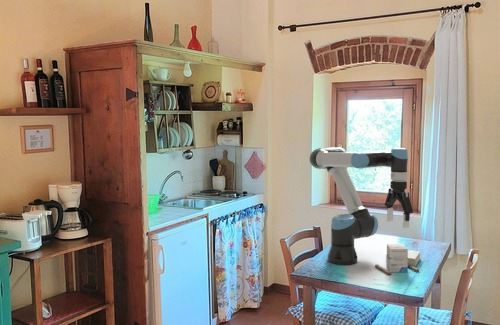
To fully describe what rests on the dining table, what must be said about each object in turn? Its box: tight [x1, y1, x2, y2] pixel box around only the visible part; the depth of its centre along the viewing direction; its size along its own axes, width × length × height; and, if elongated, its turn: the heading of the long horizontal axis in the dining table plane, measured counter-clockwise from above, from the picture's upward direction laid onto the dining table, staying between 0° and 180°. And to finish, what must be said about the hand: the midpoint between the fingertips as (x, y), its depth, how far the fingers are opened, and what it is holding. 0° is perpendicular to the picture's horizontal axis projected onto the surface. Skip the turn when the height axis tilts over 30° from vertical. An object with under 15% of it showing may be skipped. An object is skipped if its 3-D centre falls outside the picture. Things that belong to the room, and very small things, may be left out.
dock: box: [385, 249, 421, 267], centre depth 237 cm, size 14×14×4 cm
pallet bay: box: [374, 264, 420, 276], centre depth 224 cm, size 12×16×1 cm
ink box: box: [386, 243, 409, 273], centre depth 224 cm, size 9×8×12 cm
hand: (397, 224), depth 222 cm, fingers open, 13 cm apart
